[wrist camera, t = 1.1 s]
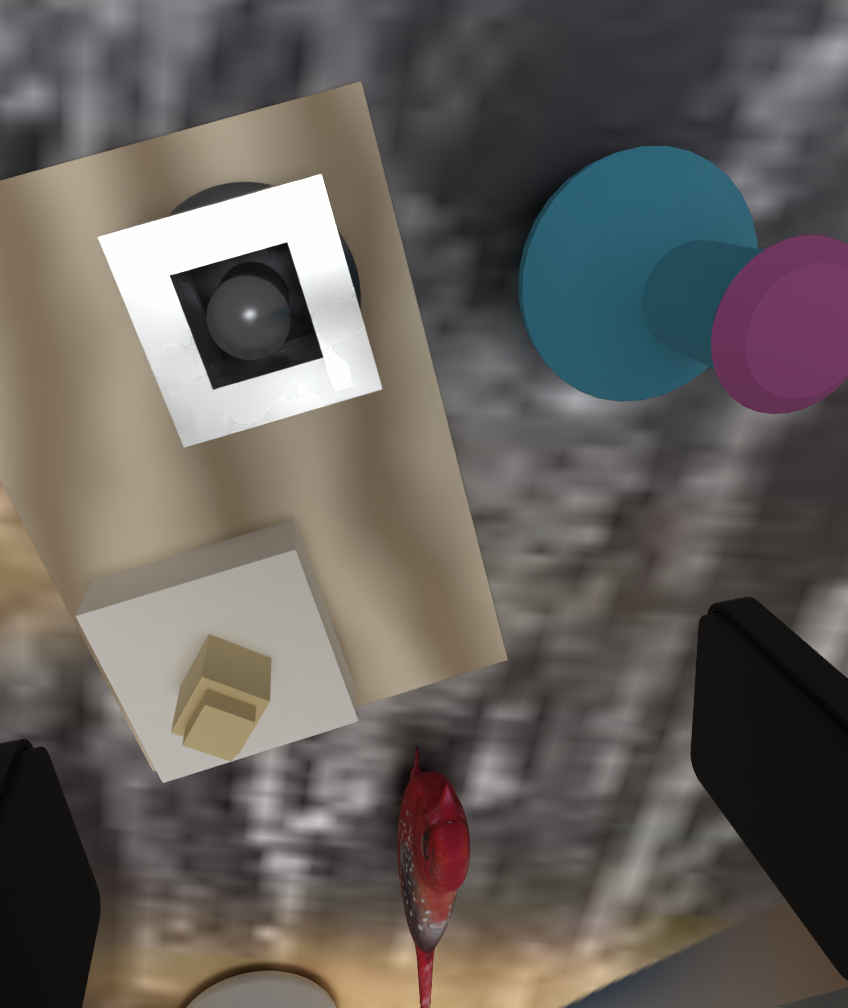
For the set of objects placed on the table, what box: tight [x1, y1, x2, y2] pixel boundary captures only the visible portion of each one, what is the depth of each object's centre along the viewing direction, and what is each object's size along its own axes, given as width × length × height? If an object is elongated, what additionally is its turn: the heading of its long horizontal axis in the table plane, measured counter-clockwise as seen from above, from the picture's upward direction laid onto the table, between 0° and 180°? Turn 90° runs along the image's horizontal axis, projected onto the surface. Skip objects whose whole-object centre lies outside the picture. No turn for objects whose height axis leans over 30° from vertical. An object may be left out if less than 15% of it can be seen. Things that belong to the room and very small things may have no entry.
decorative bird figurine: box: [397, 747, 470, 1008], centre depth 39 cm, size 3×18×10 cm, turn 178°
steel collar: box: [98, 174, 382, 448], centre depth 27 cm, size 7×7×4 cm
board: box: [0, 81, 508, 771], centre depth 34 cm, size 18×26×2 cm
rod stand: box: [169, 181, 361, 360], centre depth 28 cm, size 8×8×6 cm
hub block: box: [76, 519, 358, 783], centre depth 33 cm, size 9×9×7 cm
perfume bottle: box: [518, 146, 848, 414], centre depth 27 cm, size 9×9×15 cm
